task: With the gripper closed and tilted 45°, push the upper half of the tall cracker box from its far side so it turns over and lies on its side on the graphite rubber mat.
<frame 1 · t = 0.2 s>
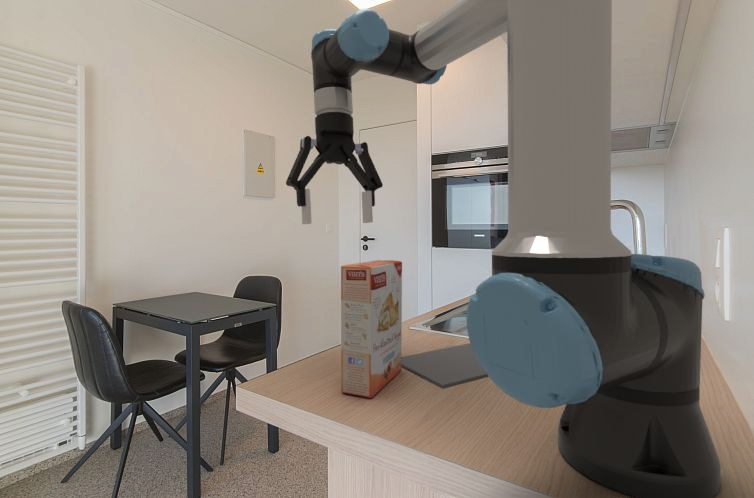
hand: (338, 223, 79), 28 cm above the counter, tool pointing down, fingers open, 13 cm apart
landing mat: (458, 363, 77), on the counter
cracker box: (374, 382, 69), on the counter
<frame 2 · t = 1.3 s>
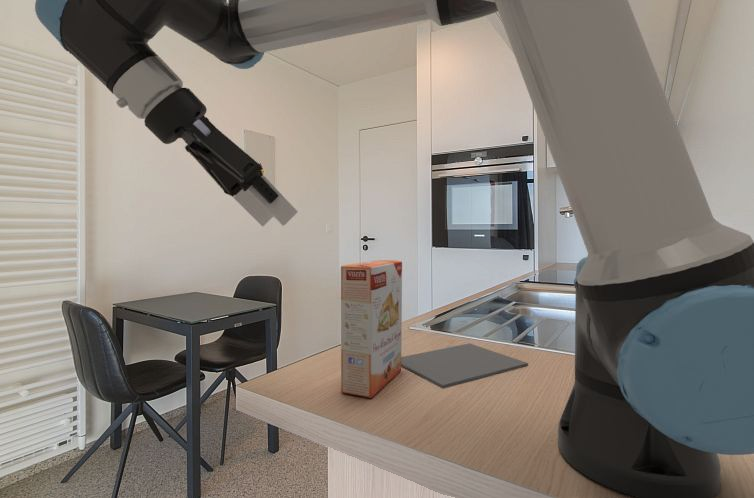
hand: (278, 220, 60), 28 cm above the counter, tool tilted 45°, fingers open, 13 cm apart
nothing on the counter moved.
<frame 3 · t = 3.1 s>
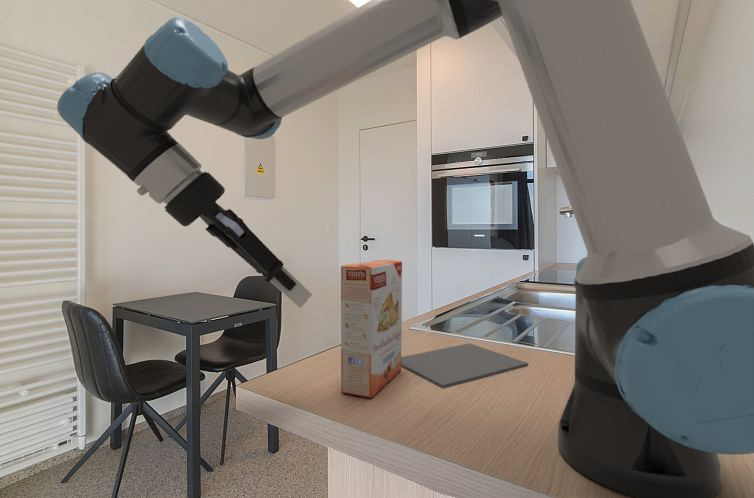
hand: (304, 300, 61), 15 cm above the counter, tool tilted 45°, fingers closed
nothing on the counter moved.
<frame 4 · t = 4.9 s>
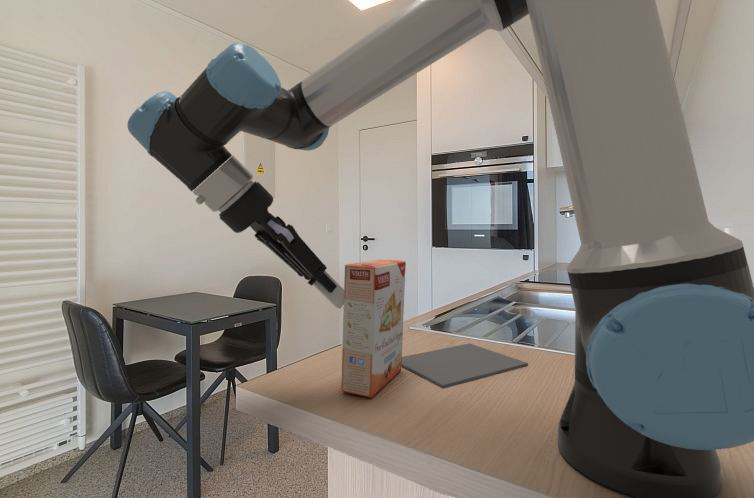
hand: (343, 301, 65), 15 cm above the counter, tool tilted 45°, fingers closed
cracker box: (374, 382, 69), on the counter, touching gripper
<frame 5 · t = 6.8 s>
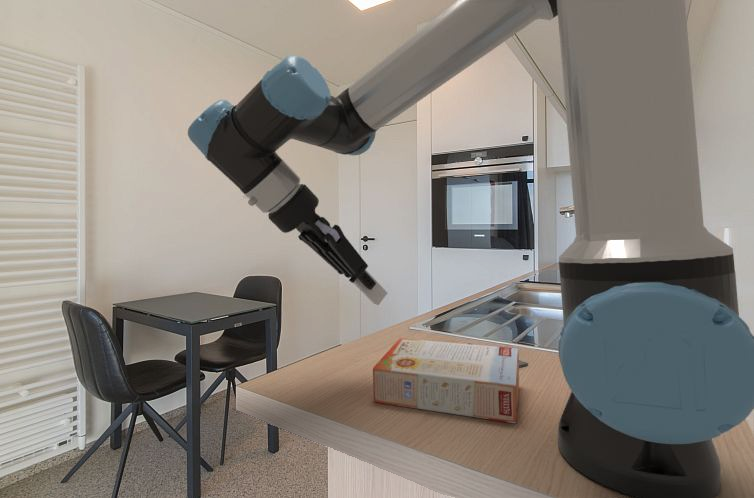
hand: (380, 298, 68), 15 cm above the counter, tool tilted 45°, fingers closed
cracker box: (386, 367, 66), point 3 cm above the counter, touching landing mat
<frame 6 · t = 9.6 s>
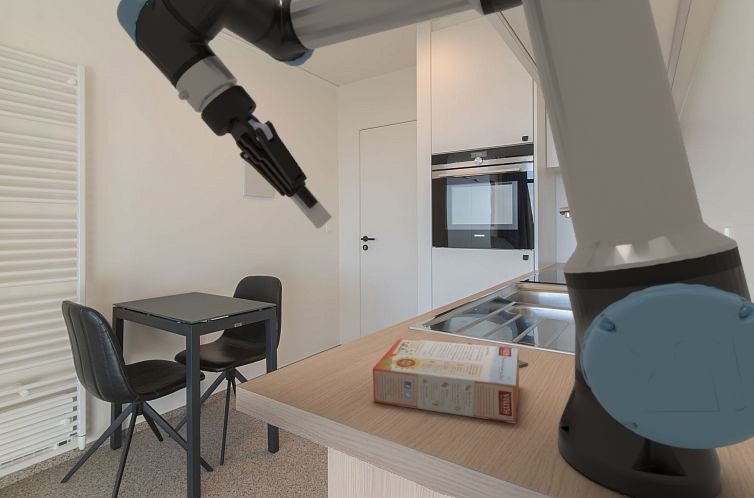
hand: (324, 222, 64), 28 cm above the counter, tool tilted 40°, fingers closed
nothing on the counter moved.
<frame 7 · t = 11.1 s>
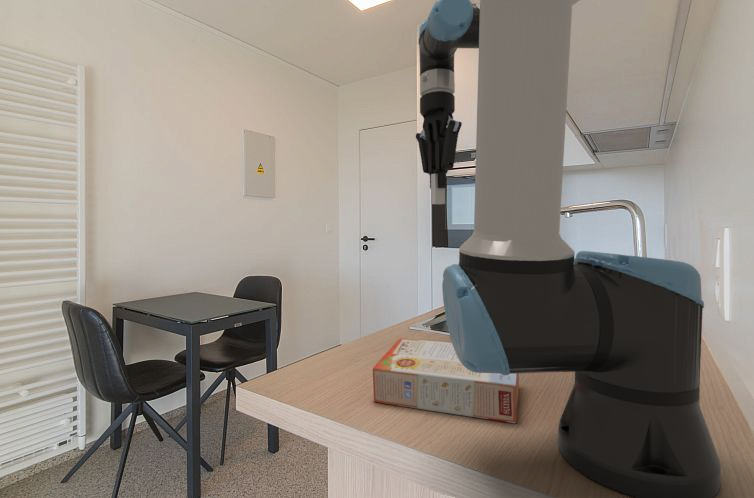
hand: (438, 203, 87), 32 cm above the counter, tool pointing down, fingers closed
nothing on the counter moved.
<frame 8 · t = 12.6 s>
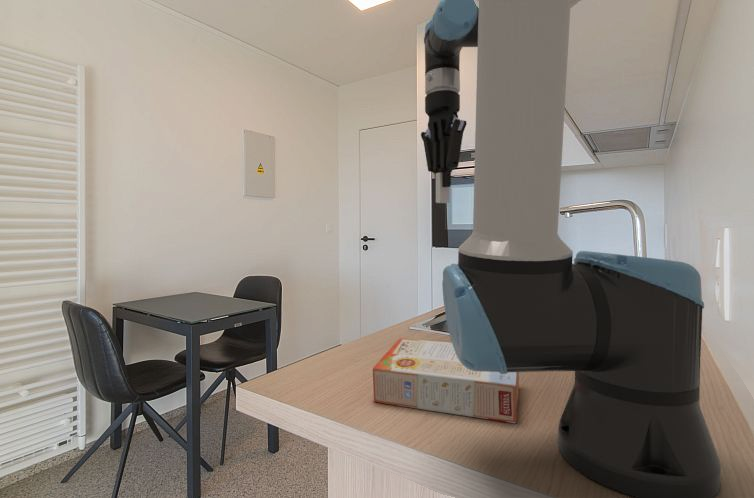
hand: (442, 202, 87), 32 cm above the counter, tool pointing down, fingers closed
nothing on the counter moved.
at the end: cracker box tilted 89°; cracker box inside the target area (7.8 cm from its centre), point 3.1 cm above the counter; cracker box touching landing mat, counter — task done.
